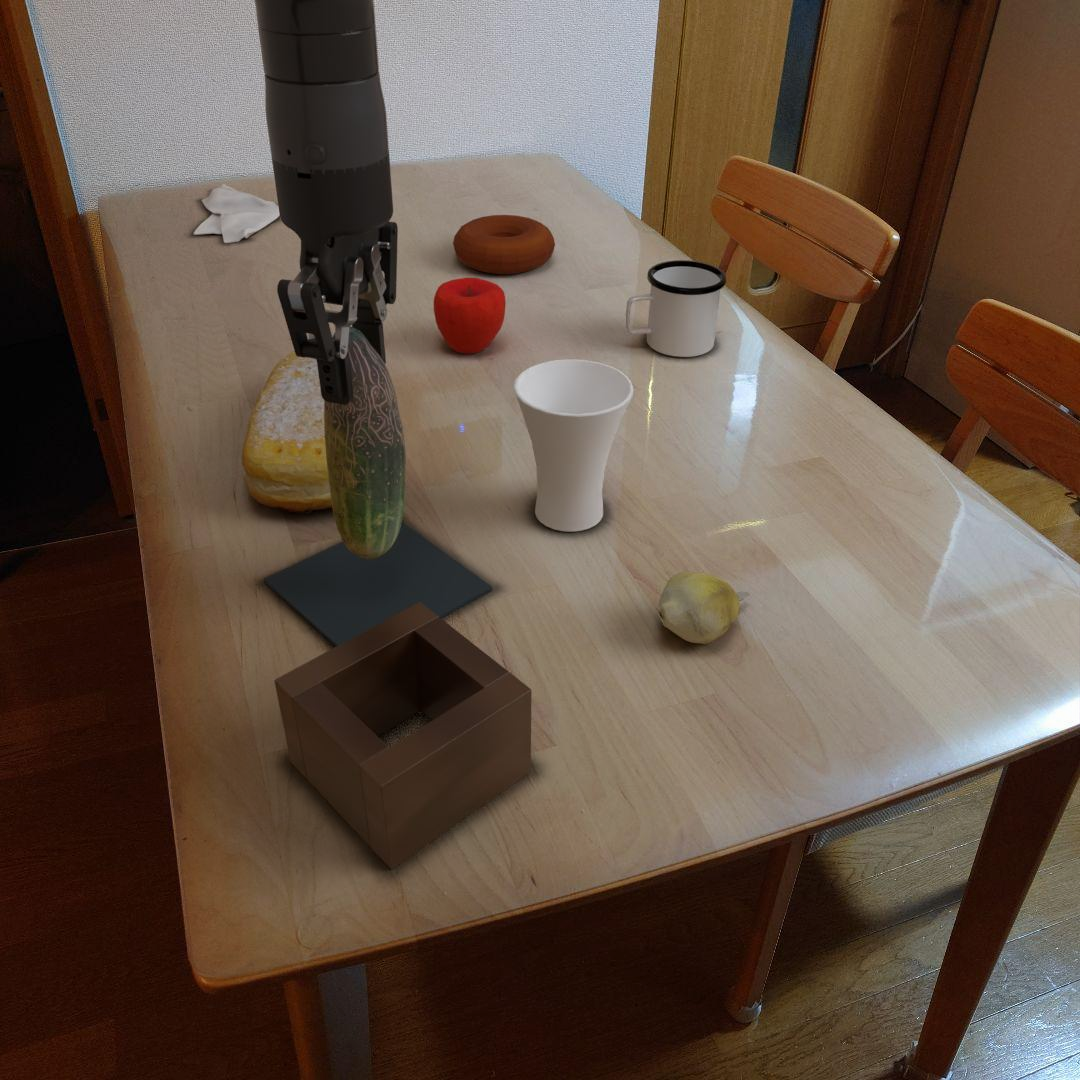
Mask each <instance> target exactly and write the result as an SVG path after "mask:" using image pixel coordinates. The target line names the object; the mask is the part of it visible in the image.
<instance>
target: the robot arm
mask: <svg viewBox="0 0 1080 1080" xmlns="http://www.w3.org/2000/svg"><path fill="white" fill-rule="evenodd" d="M253 1H254V5H255V14H256V22H257V31H258V37H259V45H260V52H261V59H262V67H263V73H264V87H265V88H264V89H265V95H264V96H265V100H264V102H265V106H264V107H265V118H266V128H267V134H268V140H269V147H270V148H269V149H270V155H271V156H270V157H271V164H272V171H273V176H274V177H273V178H274V184H275V192H276V199H277V206H279V214H280V216H279V218H280V221H281V222H282V224H283V225H284V226H286V227H287V228H288V229H290V230H291V231H292V232H293V233H295V234H296V235H297V237H298V238H299V239H300V252H299V253H300V254H299V269H300V271H299V272H298V274H296V276H295V277H294V279H292V280H291V279H286V278H285V279H284V278H281V279H280V280H279V281H278V283H277V288H276V292H277V296H278V299H279V303H280V307H281V309H282V313H283V316H284V319H285V323H286V326H287V330H288V334H289V336H290V339H291V343H292V347H293V351H295V354H296V356H298V357H303V358H305V357H307V358H313V359H316V360H317V366H318V374H319V380H320V389H321V395H322V398H323V399H324V400H325V401H327V402H331V403H337V404H343V405H346V404H348V403H349V402H350V401H351V400H352V399H353V387H352V378H351V369H350V359H349V355H348V354H347V352H348V340H349V327H354V328H355V329H357V330H359V331H360V332H361V333H362V334H363V335H364V336H365V338H366V339H367V340H368V342H369V343H370V345H371V346H372V347H373V348H374V349H375V350H376V352H377V353H378V354H379V356H380V357H381V358H382V360H383V361H384V363H385V365H387V359H386V357H387V356H386V348H385V347H386V345H385V334H384V323H383V322H385V321H386V319H387V316H388V307H387V305H394V304H395V302H396V300H397V299H396V298H397V281H398V280H397V277H398V239H399V238H398V235H399V233H398V229H399V227H398V224H397V222H396V221H391V219H392V217H393V214H394V201H393V199H394V198H393V188H392V187H393V186H392V176H391V173H392V172H391V157H390V149H389V148H390V147H389V133H388V132H389V131H388V118H387V108H386V103H385V98H384V93H383V89H382V87H383V86H382V82H381V75H380V65H379V51H378V50H379V49H378V39H377V38H378V35H377V25H376V22H377V21H376V12H375V2H374V0H253ZM325 304H327V305H335V306H342V308H341V310H340V311H338V310H332V309H326V308H325ZM330 323H331V324H333V325H334V333H335V340H333V338H332V337H333V335H332V331H331V326H330ZM307 334H308V335H307Z"/></svg>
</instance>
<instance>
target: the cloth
mask: <svg viewBox="0 0 1080 1080" xmlns="http://www.w3.org/2000/svg"><path fill="white" fill-rule="evenodd" d="M201 202H202V204H203V205H204V207H205V208H206V209H207V210H208V211H209V212H211V214H210V216H209V217H207V218H206V219H205V220H204V221H203V222H201V223H199V225H198V227H197V228H196V229H195V230H194V232H193V236H200V235H212V234H215V235H222V239H223V243H224V244H232V243H237V242H240V241H241V240H242V239H248V238H249V237H251V236H252V235H254V234H256V233H257V232H258V231H260V230H262V229H263V228H265V227H267V226H268V225H270V224H271V223H272V222H274V221H276V220H277V219H278V218H280V214H279V206H278V204H276V203H275V202H274V201H271V200H266V199H263V198H261V197H259V196H257V195H254V194H252V193H248V192H244V191H241V190H236V189H234V188H232V187H230V186H228V185H226V184H224V183H222V184H221V186H219V187H215V188H212V189H211V192H210V193H209V195H208V196H207V197H204V198H203V199H201Z"/></svg>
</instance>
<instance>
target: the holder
mask: <svg viewBox="0 0 1080 1080" xmlns="http://www.w3.org/2000/svg"><path fill="white" fill-rule="evenodd" d="M273 682H274V686H275V687H274V688H275V691H276V696H277V697H276V698H277V701H278V706H279V711H280V716H281V722H282V727H283V731H284V737H285V741H286V747H287V751H288V756H289V761H290V762H289V763H291V764H292V766H294V768H296V770H297V771H298V772H299V773H300V774H301V776H303V777H304V778H305V779H306V780H307V781H308V782H309V784H311V785H312V786H313V788H314V789H315V790H316V791H317V792H318V794H320V795H321V797H323V799H324V800H325V801H326V802H327V803H328V804H329V805H330V806H331V807H332V808H333V809H334V811H336V813H338V815H339V816H341V818H342V819H343V820H344V821H345V822H346V823H347V824H348V825H349V826H350V827H351V828H352V830H353V831H354V832H355V833H356V834H357V835H358V836H359V837H360V838H361V839H362V840H363V841H364V842H365V843H366V844H367V846H368V847H369V848H370V849H372V851H373V852H374V853H375V854H376V856H377V857H378V858H380V860H381V861H382V862H383V863H384V864H385V865H386V866H387V867H388V868H389V869H390V870H393V869H394V868H396V867H397V866H399V865H400V864H402V863H403V862H404V861H406V860H407V859H409V858H410V857H411V856H413V855H414V854H416V853H417V852H419V851H420V850H421V849H423V848H424V847H426V846H427V845H429V843H431V842H433V841H434V840H436V839H437V838H438V837H440V836H441V835H443V834H444V833H446V832H447V831H448V830H449V829H451V828H453V827H454V826H456V825H457V824H459V823H460V822H461V821H463V820H464V819H465V818H467V817H468V816H470V815H471V814H473V813H474V812H475V811H476V810H478V809H480V808H481V807H482V806H483V805H485V804H486V803H488V802H489V801H490V800H493V799H494V798H495V797H497V796H498V795H499V794H501V793H502V792H504V791H505V790H506V789H508V788H510V787H511V786H512V785H514V784H515V783H516V782H518V781H520V779H522V778H524V777H525V776H526V775H528V774H529V773H531V771H532V689H531V688H530V687H529V686H528V685H527V684H525V683H524V682H522V681H521V680H520V679H519V678H517V677H516V676H515V675H514V674H512V673H511V672H510V671H508V670H507V669H506V668H505V667H503V666H502V665H501V664H500V663H498V662H497V661H496V660H494V658H492V657H491V656H490V655H488V654H487V653H486V652H485V651H483V650H482V649H481V648H479V647H478V646H477V645H475V644H474V643H473V642H472V641H471V640H469V639H468V638H467V637H466V636H464V635H463V634H462V633H460V632H459V631H458V630H457V629H455V628H454V627H453V626H452V625H450V624H449V623H448V622H446V621H445V620H444V619H443V618H440V617H438V616H437V615H436V614H435V613H434V612H432V611H431V610H430V609H428V608H427V607H426V606H425V605H423V604H422V603H421V602H419V603H417V604H415V605H413V606H411V607H409V608H408V609H406V610H404V611H402V612H400V613H398V614H396V615H395V616H393V617H391V618H389V619H387V620H385V621H383V622H381V623H380V624H378V625H376V626H374V627H372V628H370V629H368V630H367V631H365V632H363V633H361V634H359V635H357V636H355V637H354V638H352V639H350V640H348V641H346V642H344V643H342V644H340V645H339V646H337V647H335V646H334V647H333V648H331V649H329V650H327V651H325V652H324V653H322V654H320V655H318V656H316V657H315V658H312V659H310V660H309V661H307V662H305V663H303V664H301V665H300V666H299V665H298V667H295V668H294V669H292V670H290V671H288V672H286V673H284V674H283V675H281V676H279V677H277V678H275V679H274V681H273ZM419 712H422V713H423V714H424V715H425V716H426V717H427V718H428V719H429V720H430V721H429V722H427V723H426V724H424V725H423V726H421V727H419V728H418V729H416V730H415V731H413V732H411V733H410V734H408V735H406V736H405V737H404V738H402V739H400V740H398V741H396V742H395V743H393V744H392V745H391V746H388V745H387V744H386V743H385V742H384V740H382V739H381V738H380V736H381V735H383V734H385V733H386V732H388V731H390V730H391V729H393V728H394V727H396V726H397V725H399V724H401V723H403V722H404V721H406V720H408V719H409V718H411V717H413V716H414V715H415V714H417V713H419Z"/></svg>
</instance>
